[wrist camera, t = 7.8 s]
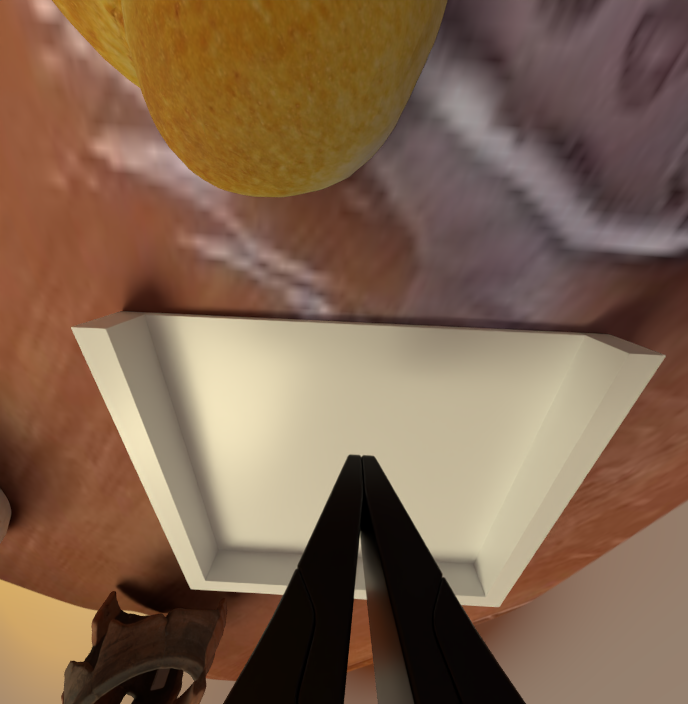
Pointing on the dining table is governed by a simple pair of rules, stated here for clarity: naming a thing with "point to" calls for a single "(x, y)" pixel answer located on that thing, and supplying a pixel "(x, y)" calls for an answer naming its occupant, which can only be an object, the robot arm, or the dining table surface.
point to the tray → (358, 434)
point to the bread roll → (267, 80)
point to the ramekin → (4, 515)
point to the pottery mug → (145, 656)
